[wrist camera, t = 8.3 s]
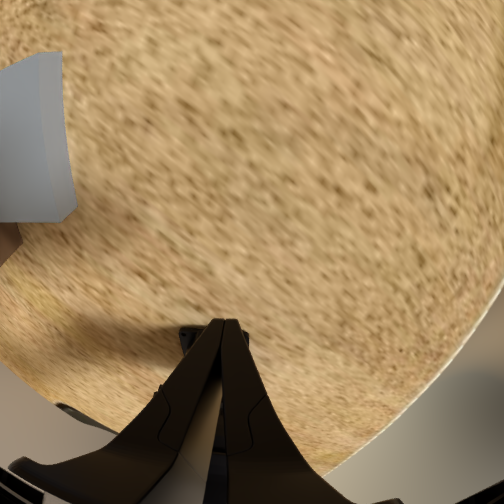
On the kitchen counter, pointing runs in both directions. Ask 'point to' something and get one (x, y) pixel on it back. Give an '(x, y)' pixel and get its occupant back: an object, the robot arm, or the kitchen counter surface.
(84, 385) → the kitchen counter surface
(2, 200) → the slate plate
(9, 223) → the walnut bar
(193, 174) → the kitchen counter surface
